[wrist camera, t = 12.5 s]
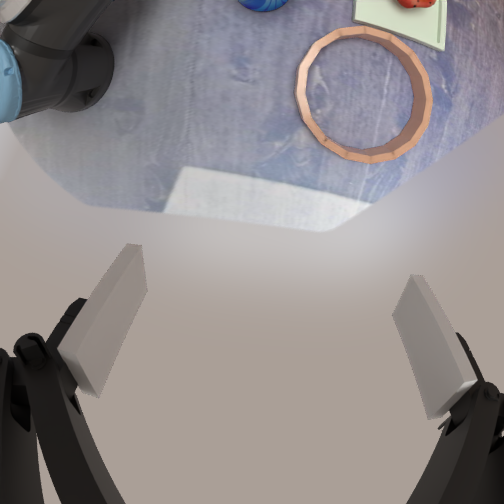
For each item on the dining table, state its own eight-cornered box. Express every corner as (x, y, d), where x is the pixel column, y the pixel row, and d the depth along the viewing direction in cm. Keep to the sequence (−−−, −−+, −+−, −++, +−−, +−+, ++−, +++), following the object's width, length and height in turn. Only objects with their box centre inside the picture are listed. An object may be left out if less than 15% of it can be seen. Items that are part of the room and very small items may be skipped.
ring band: (287, 144, 45) (288, 150, 41) (302, 19, 34) (305, 12, 30) (406, 166, 45) (416, 174, 42) (426, 53, 34) (439, 52, 30)
